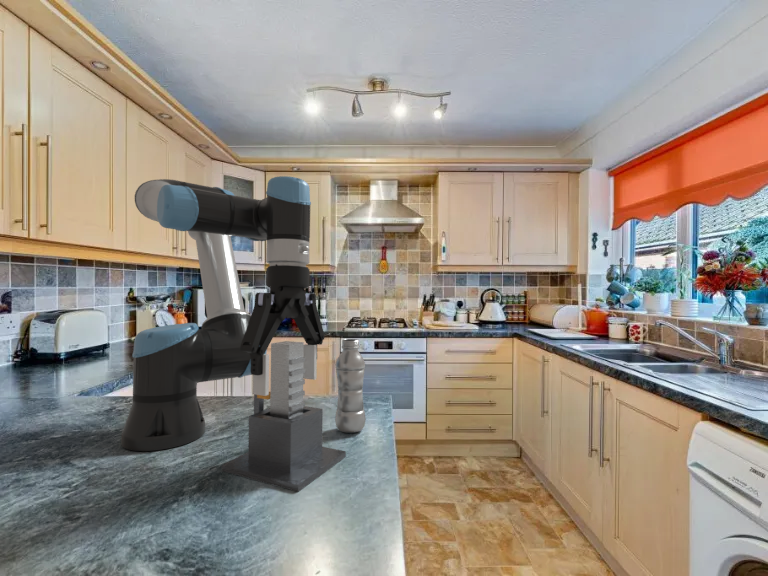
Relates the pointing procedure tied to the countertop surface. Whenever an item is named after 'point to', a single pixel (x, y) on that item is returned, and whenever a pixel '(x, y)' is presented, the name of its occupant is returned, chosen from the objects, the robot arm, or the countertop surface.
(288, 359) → the column
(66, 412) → the countertop surface
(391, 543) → the countertop surface
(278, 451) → the stand
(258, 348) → the robot arm
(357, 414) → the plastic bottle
